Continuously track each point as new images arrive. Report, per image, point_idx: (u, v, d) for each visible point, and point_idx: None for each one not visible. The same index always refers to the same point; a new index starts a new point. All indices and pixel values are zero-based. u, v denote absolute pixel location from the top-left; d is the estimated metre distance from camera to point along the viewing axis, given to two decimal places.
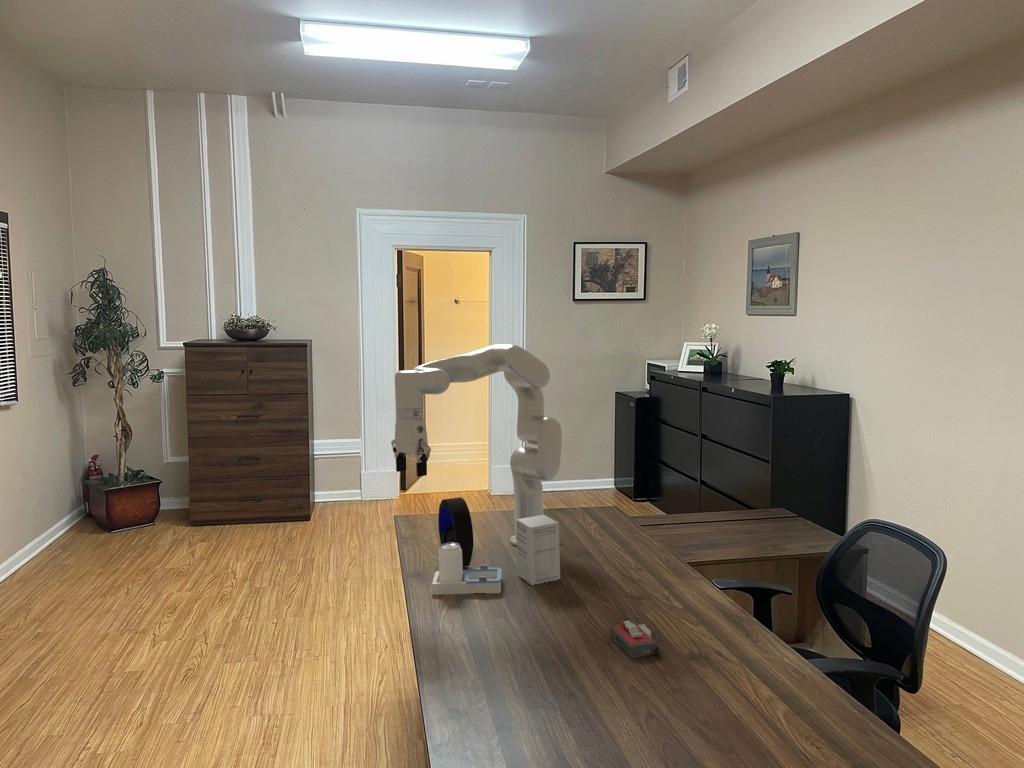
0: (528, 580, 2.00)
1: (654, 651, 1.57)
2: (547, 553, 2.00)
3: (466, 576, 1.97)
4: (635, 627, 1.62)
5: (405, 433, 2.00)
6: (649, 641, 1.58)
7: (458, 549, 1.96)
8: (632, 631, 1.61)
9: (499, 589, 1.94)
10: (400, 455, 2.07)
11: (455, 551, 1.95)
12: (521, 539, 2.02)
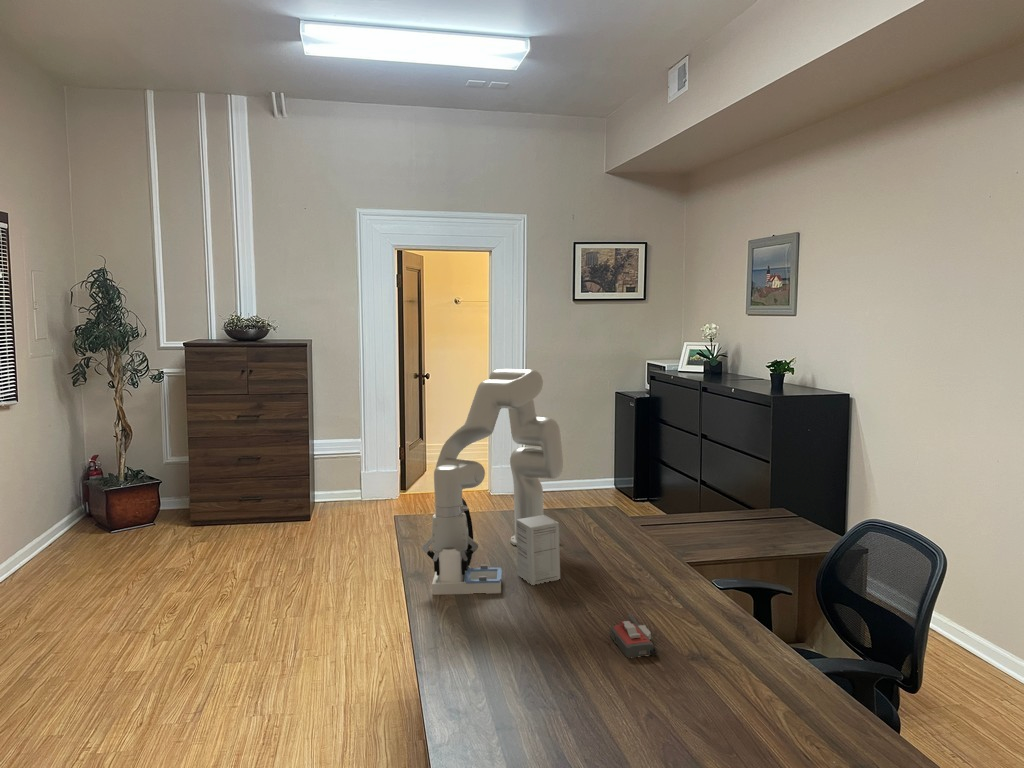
0: (528, 580, 2.00)
1: (651, 652, 1.56)
2: (547, 553, 2.00)
3: (466, 576, 1.97)
4: (634, 628, 1.62)
5: (453, 531, 1.94)
6: (646, 642, 1.57)
7: None
8: (630, 632, 1.61)
9: (499, 589, 1.94)
10: (437, 557, 1.97)
11: (455, 551, 1.95)
12: (521, 539, 2.02)
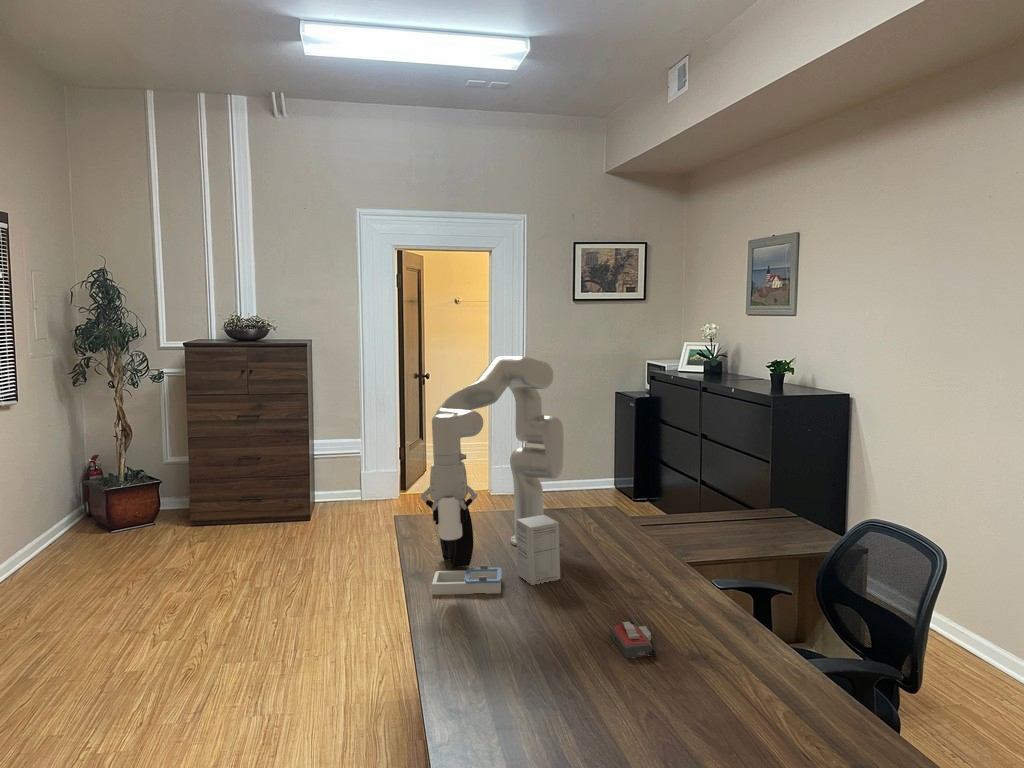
0: (528, 580, 2.00)
1: (650, 653, 1.56)
2: (547, 553, 2.00)
3: (466, 576, 1.97)
4: (633, 628, 1.62)
5: (451, 479, 1.93)
6: (645, 643, 1.57)
7: None
8: (630, 632, 1.61)
9: (499, 589, 1.94)
10: (436, 507, 1.96)
11: (454, 500, 1.94)
12: (521, 539, 2.02)
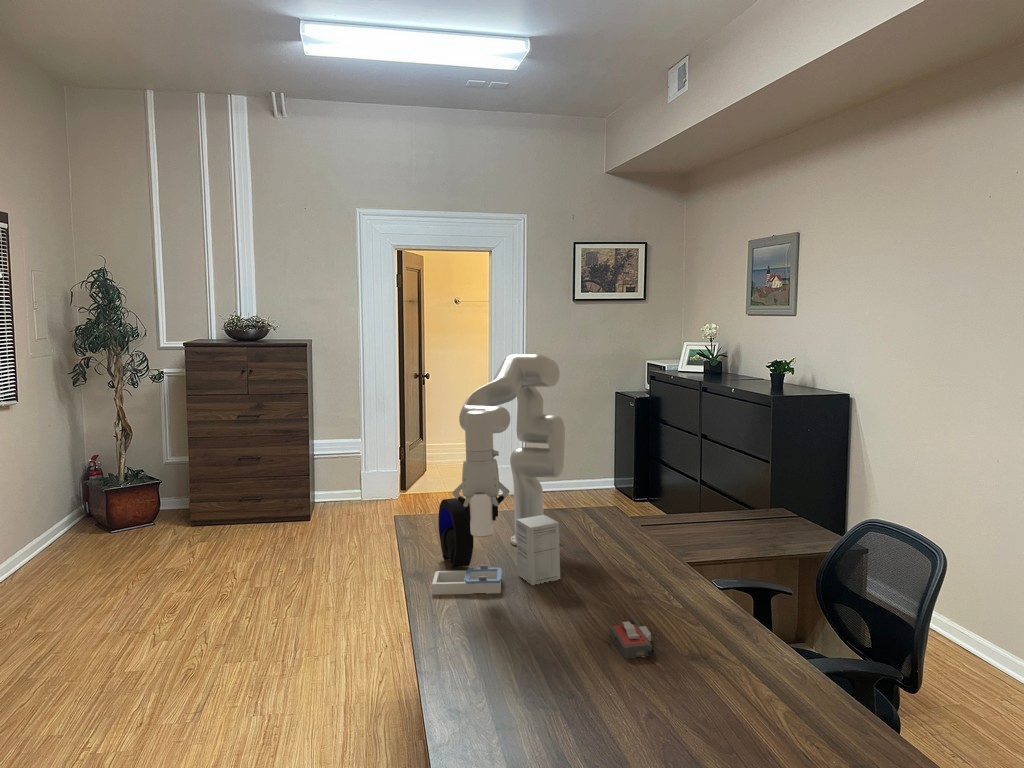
0: (528, 580, 2.00)
1: (649, 654, 1.56)
2: (547, 554, 2.00)
3: (466, 576, 1.97)
4: (633, 628, 1.61)
5: (484, 475, 1.93)
6: (645, 643, 1.57)
7: None
8: (630, 632, 1.61)
9: (499, 589, 1.94)
10: (468, 503, 1.96)
11: (486, 496, 1.94)
12: (521, 539, 2.02)
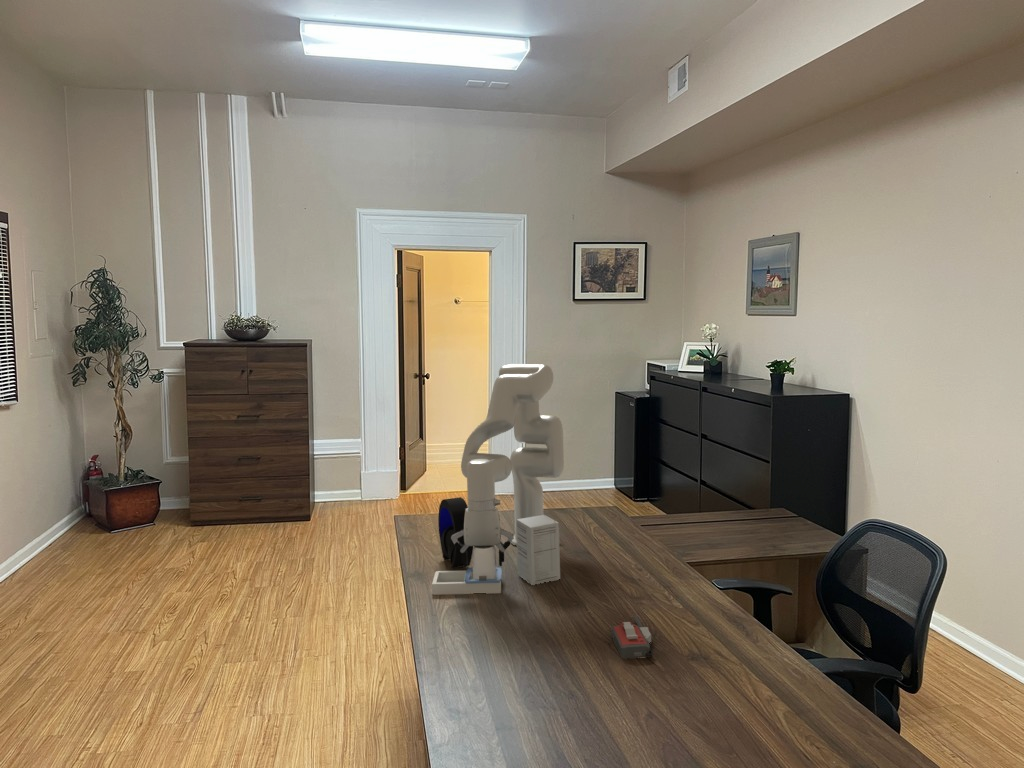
0: (528, 580, 2.00)
1: (646, 654, 1.55)
2: (547, 553, 2.00)
3: (466, 576, 1.97)
4: (633, 629, 1.61)
5: (486, 525, 1.94)
6: (642, 644, 1.56)
7: (492, 548, 1.96)
8: (629, 632, 1.60)
9: (499, 589, 1.94)
10: None
11: (489, 550, 1.95)
12: (521, 539, 2.02)
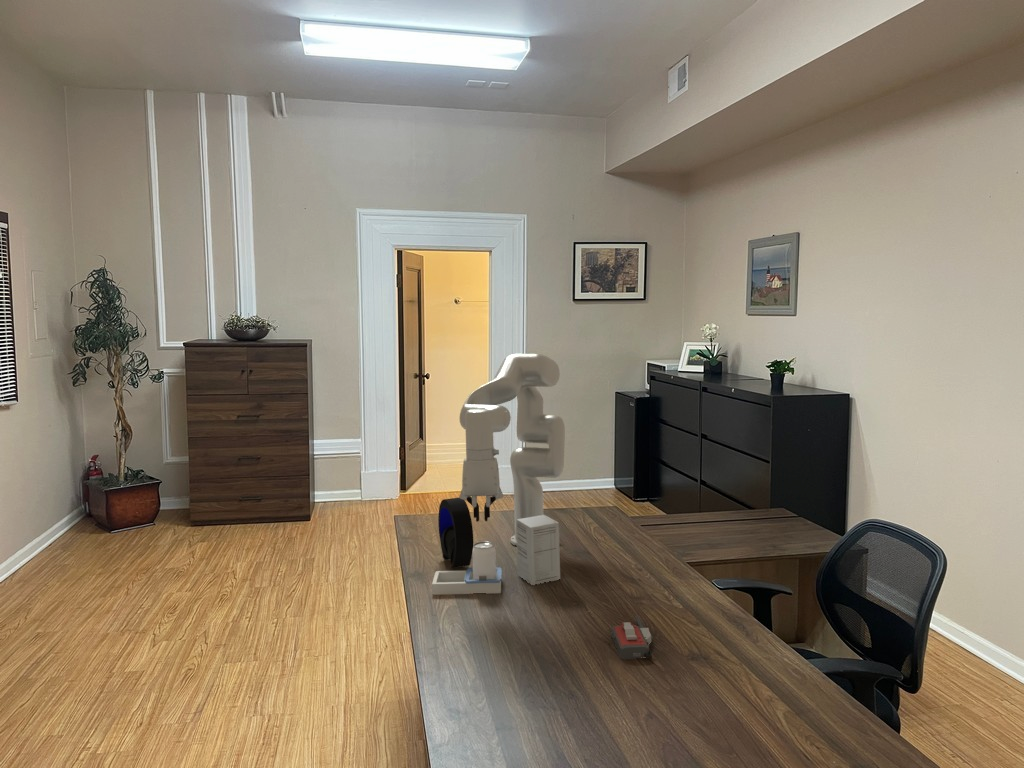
0: (528, 580, 2.00)
1: (645, 655, 1.55)
2: (547, 553, 2.00)
3: (466, 576, 1.97)
4: (632, 629, 1.61)
5: (484, 474, 1.93)
6: (642, 645, 1.56)
7: (492, 548, 1.96)
8: (628, 633, 1.60)
9: (499, 589, 1.94)
10: (477, 504, 1.96)
11: (489, 550, 1.95)
12: (521, 539, 2.02)
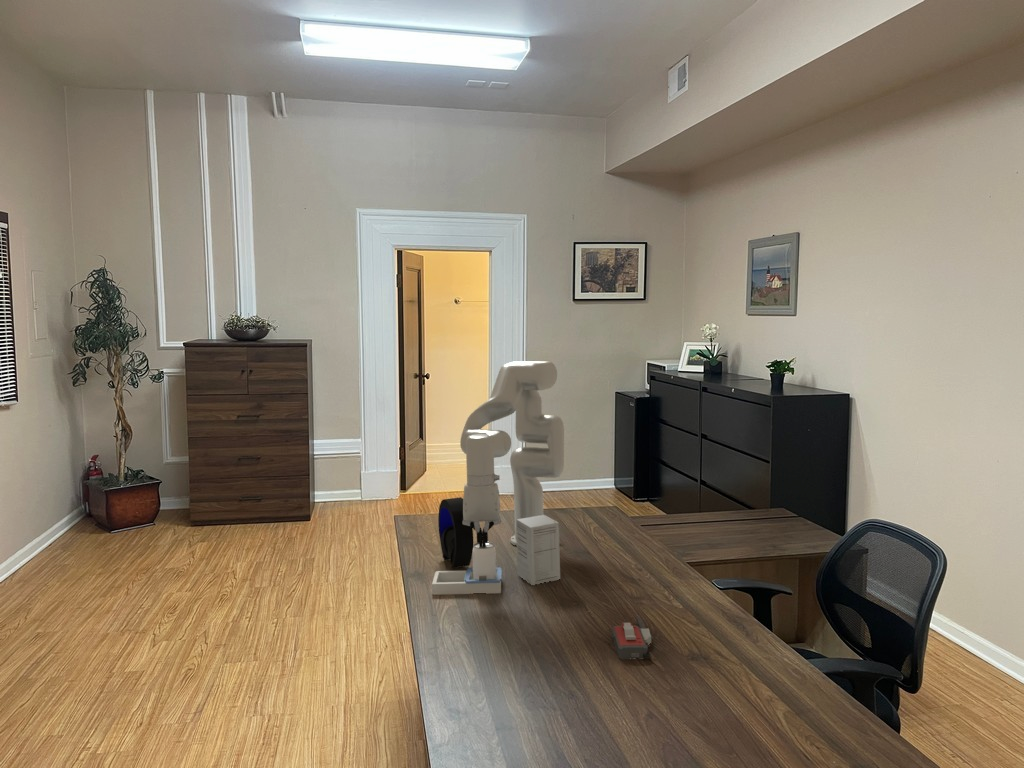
0: (528, 580, 2.00)
1: (644, 656, 1.55)
2: (547, 554, 2.00)
3: (466, 576, 1.97)
4: (632, 630, 1.61)
5: (485, 500, 1.93)
6: (640, 645, 1.56)
7: (492, 548, 1.96)
8: (628, 633, 1.60)
9: (499, 589, 1.94)
10: (480, 528, 1.97)
11: (489, 550, 1.95)
12: (521, 539, 2.02)
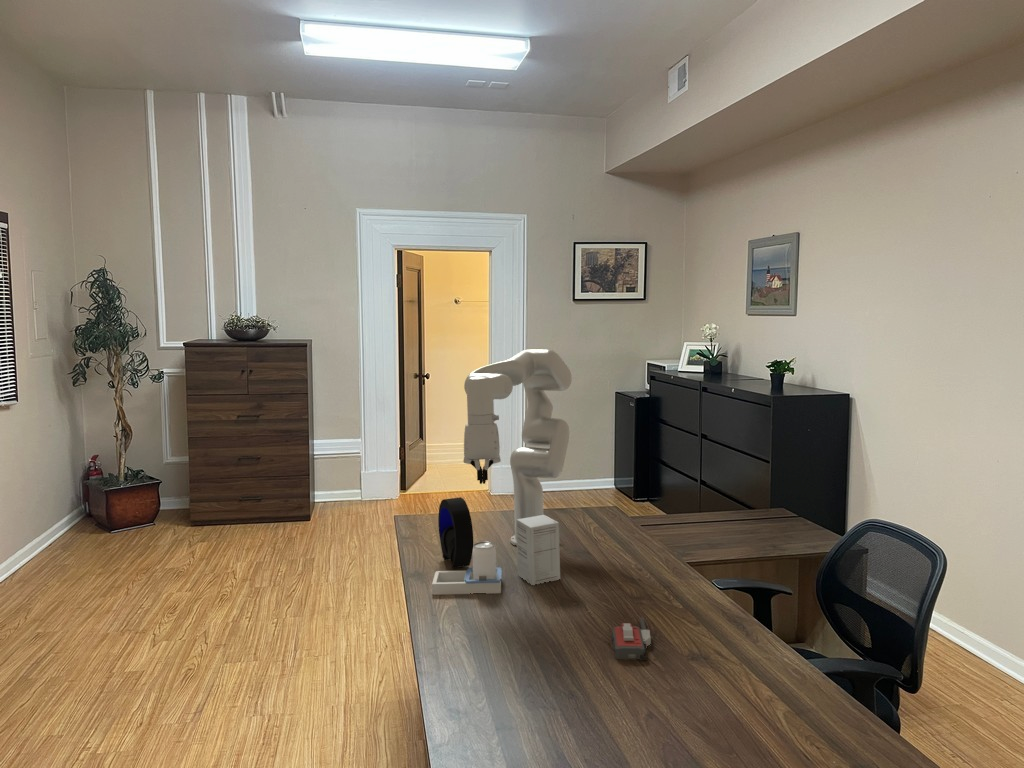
0: (528, 580, 2.00)
1: (640, 657, 1.54)
2: (547, 553, 2.00)
3: (466, 576, 1.97)
4: (631, 630, 1.61)
5: (485, 438, 2.02)
6: (637, 646, 1.56)
7: (492, 548, 1.96)
8: (626, 634, 1.60)
9: (499, 589, 1.94)
10: (480, 467, 2.05)
11: (489, 550, 1.95)
12: (521, 539, 2.02)
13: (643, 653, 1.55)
